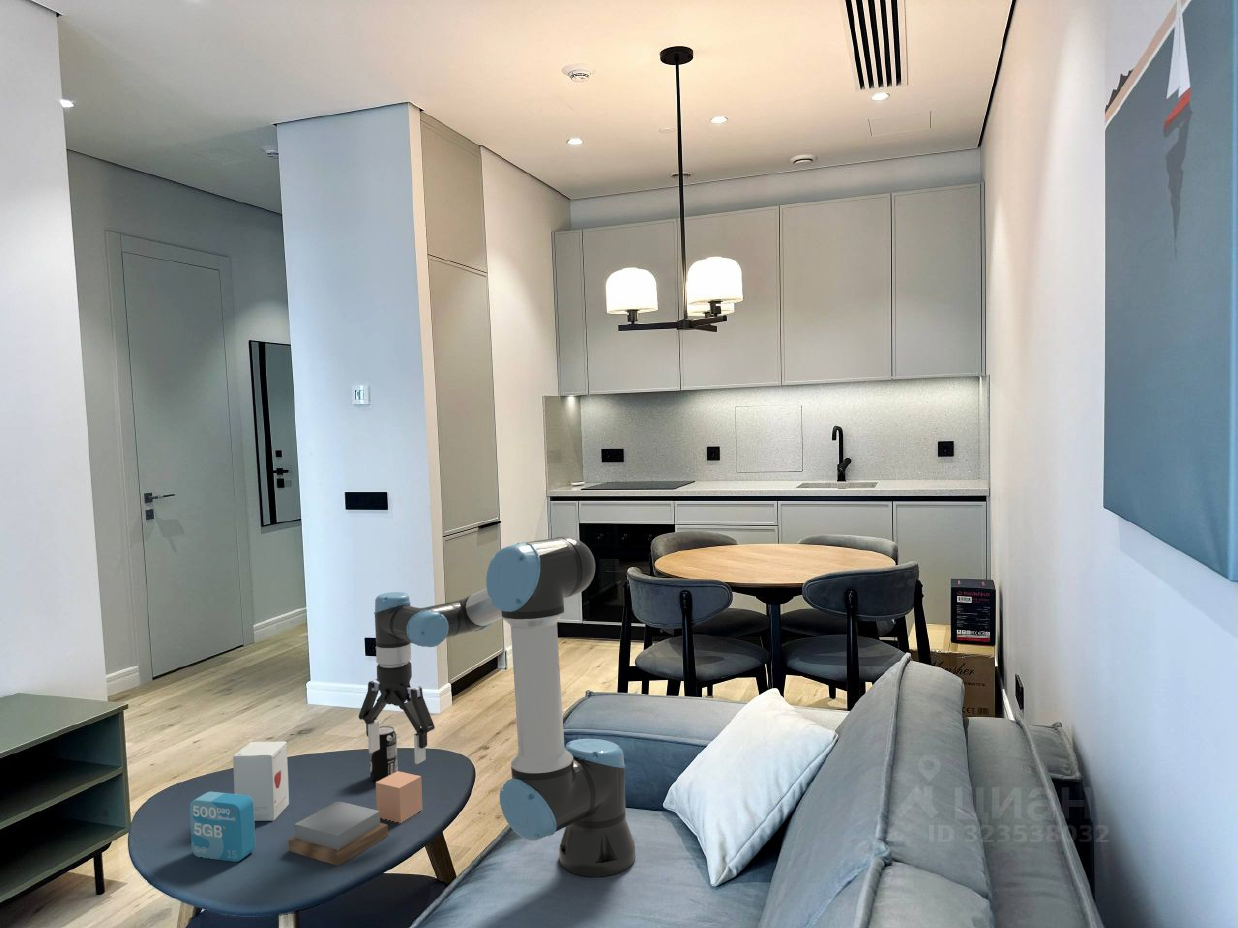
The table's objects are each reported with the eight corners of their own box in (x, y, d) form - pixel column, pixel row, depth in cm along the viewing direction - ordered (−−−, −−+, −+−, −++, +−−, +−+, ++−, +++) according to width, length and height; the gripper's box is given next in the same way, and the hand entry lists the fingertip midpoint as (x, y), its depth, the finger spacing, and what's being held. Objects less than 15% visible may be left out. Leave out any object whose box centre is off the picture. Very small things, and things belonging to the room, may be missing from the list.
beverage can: (368, 775, 219) (366, 727, 218) (395, 770, 222) (393, 723, 221) (372, 784, 213) (370, 736, 212) (400, 779, 216) (398, 731, 215)
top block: (380, 824, 186) (379, 811, 186) (338, 850, 175) (337, 835, 175) (338, 814, 192) (337, 800, 191) (295, 838, 181) (294, 823, 181)
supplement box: (274, 821, 194) (271, 755, 194) (234, 822, 194) (231, 755, 194) (290, 803, 203) (287, 740, 203) (252, 804, 204) (249, 740, 203)
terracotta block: (422, 810, 198) (421, 776, 197) (400, 823, 192) (399, 787, 191) (399, 805, 201) (397, 770, 201) (377, 817, 195) (375, 782, 195)
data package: (191, 856, 179) (188, 799, 178) (207, 846, 183) (204, 790, 183) (241, 863, 176) (238, 804, 175) (256, 852, 180) (253, 795, 180)
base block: (388, 838, 186) (387, 824, 186) (338, 868, 174) (337, 854, 174) (340, 825, 193) (339, 812, 193) (289, 853, 181) (288, 839, 180)
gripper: (449, 665, 192) (451, 759, 193) (364, 651, 204) (367, 741, 205) (426, 674, 186) (428, 772, 187) (340, 660, 197) (343, 752, 199)
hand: (396, 756), depth 196 cm, fingers open, 13 cm apart
